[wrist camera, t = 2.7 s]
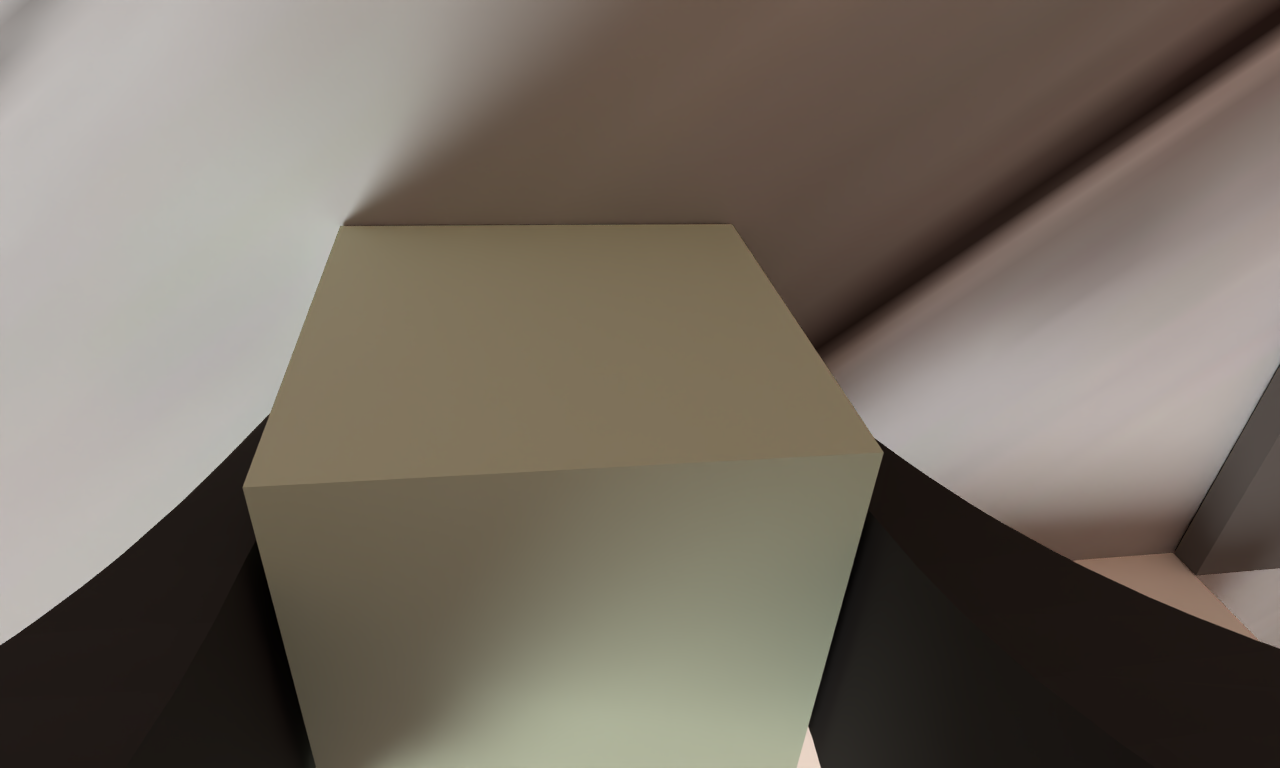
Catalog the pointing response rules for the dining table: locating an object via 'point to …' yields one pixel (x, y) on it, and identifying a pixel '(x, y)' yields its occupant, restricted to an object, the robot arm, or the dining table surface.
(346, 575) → the sage block
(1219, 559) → the tile
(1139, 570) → the base block
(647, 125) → the dining table surface
